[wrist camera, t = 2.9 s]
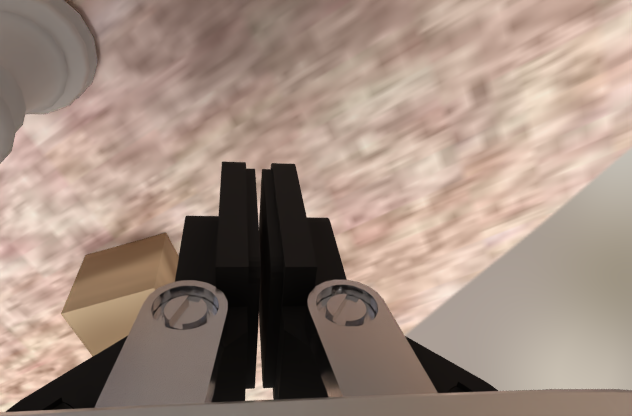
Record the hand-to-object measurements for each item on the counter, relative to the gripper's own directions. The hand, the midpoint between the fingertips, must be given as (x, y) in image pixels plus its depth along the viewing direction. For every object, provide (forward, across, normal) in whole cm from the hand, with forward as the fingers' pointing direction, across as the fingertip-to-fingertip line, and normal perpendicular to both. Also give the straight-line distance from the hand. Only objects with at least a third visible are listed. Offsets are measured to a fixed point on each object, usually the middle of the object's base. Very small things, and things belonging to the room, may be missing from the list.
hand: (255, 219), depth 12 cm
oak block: (+11, +5, +10) cm, 15 cm away
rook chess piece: (+10, +8, -1) cm, 13 cm away
